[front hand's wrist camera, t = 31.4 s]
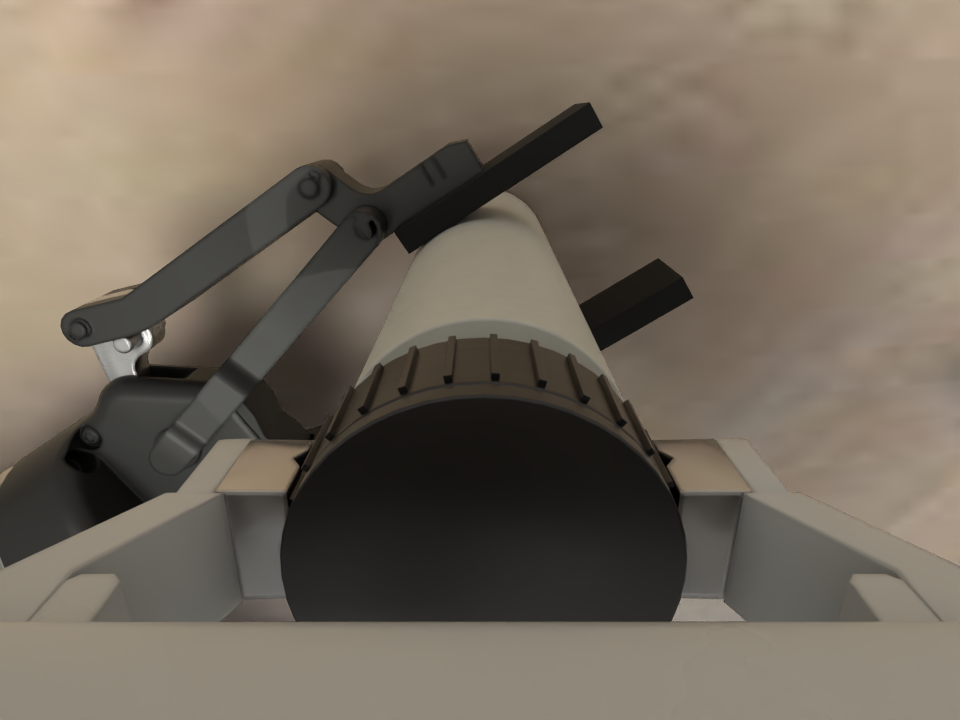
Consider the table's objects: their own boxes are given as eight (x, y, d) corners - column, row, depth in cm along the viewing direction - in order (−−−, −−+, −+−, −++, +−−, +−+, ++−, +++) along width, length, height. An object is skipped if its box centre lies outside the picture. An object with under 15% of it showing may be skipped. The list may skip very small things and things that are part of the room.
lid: (521, 254, 9) (532, 296, 7) (717, 518, 10) (769, 610, 8) (240, 463, 10) (183, 546, 8) (454, 668, 12) (449, 776, 10)
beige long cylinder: (542, 183, 25) (668, 349, 8) (546, 302, 27) (654, 644, 10) (419, 192, 26) (283, 372, 8) (431, 309, 27) (341, 658, 10)
